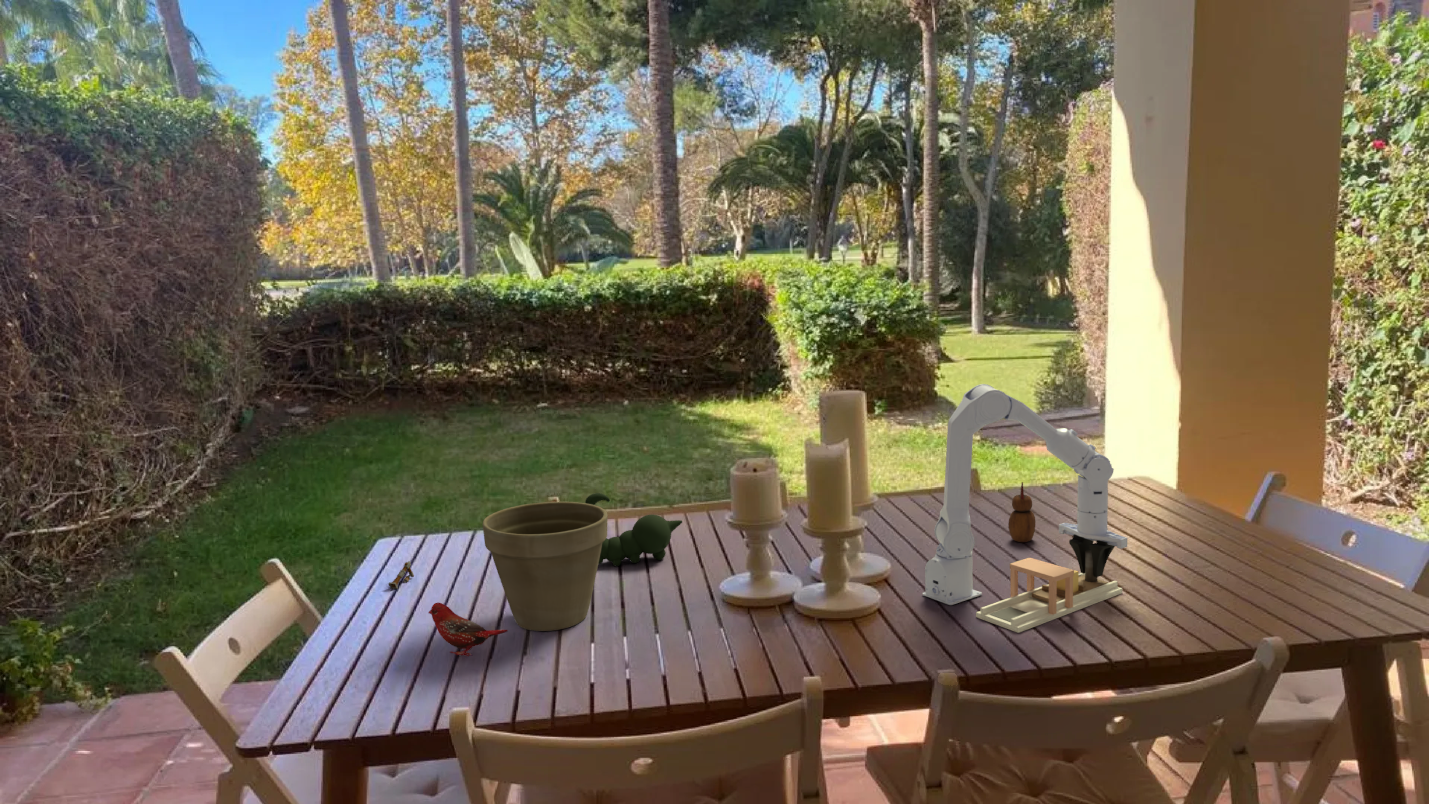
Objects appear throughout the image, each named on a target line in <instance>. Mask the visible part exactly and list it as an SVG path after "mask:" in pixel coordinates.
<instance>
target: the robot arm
mask: <svg viewBox="0 0 1429 804" xmlns="http://www.w3.org/2000/svg"><path fill="white" fill-rule="evenodd" d="M1004 419H1005V420H1006V421H1016V422H1018V423H1020V424H1021V425H1022V426H1025V428H1027V429H1028V430H1030V431H1031V432H1033V433H1034V434H1035V435H1037V436H1039V437H1040V438H1042V439H1043V440H1044V441H1045V444H1046V449H1047V452H1049V453H1050V454H1052V455H1053V456H1055V457H1056V459H1058V460H1060V461H1061V462H1063V463H1064V464H1065V465H1067V466H1068V467H1070V468H1071V469H1073V471H1074V472H1075V473H1076V474H1079V475H1077V505H1076V507H1077V509H1076V510H1077V511H1076V512H1077V514H1076V515H1077V516H1076V517H1077V519H1076V522H1077V523H1076V524H1074V523H1067V522H1063V523H1059V524H1058V534H1061V535H1065V534H1066V535H1070V536H1073V537H1072V538H1070V539H1069V541H1068V542H1069V543H1068V544H1069V545H1070V547H1071V548H1072V550H1073V552H1074V554H1075V557H1076V559H1077V563H1078V566H1079V571H1080V573H1083V574H1084V573H1085V551H1088V550H1091V553H1092V559H1093V575H1094V577H1098V578H1099V577H1103V575H1104V570H1105V567H1106V564H1107V562H1108V559H1109V557H1110V555H1111V553H1112V551H1113V550H1114V549H1115V547H1116V548H1117V549H1121V550H1122V549H1124V548H1128V537H1126V536H1122V535H1120V534H1118V533H1115V532H1113V531H1111V530H1108V515H1109V514H1108V513H1109V512H1108V510H1109V488H1108V487H1109V485H1108V484H1109V480H1110V479H1111V477H1112V476H1113V474H1114V470H1115V469H1114V468H1113V466H1112V463H1111V461H1110V460H1109V458H1108V457H1107V456H1105V455H1103V454H1101V453H1099V452H1098V451H1096V449H1097V448H1096V447H1095V446H1094V445H1093V444H1091V443H1090V444H1088V443H1086V442H1085V441H1084V440H1083V439H1081V438H1079V436H1078V435H1079V433H1078V432H1077V431H1075V430H1074V429H1073V428H1071V429H1069V428H1066V427H1065V428H1064V427H1061V428H1055V427H1053V425H1052V424H1051V423H1049V422H1048V421H1047V420H1046V419H1044V418H1043V417H1042V416H1040V415H1039V414H1037V413H1036V412H1035V411H1034V410H1032V409H1031V408H1030V407H1029V406H1028V405H1026V404H1025V403H1024V402H1023V401H1020V400H1018V399H1017V398H1015V397H1013V396H1010V395H1009V394H1007V393H1005V392H1004V391H1002V390H1000V389H996V388H995V387H993V386H991V385H990V384H986V383H981V384H977V385H975V386H973V387H972V388H971V389H969V390H968V391H966V392H965V393H964V394H963V397H962V399H961V401H960V403H959V404H958V405H957V407H956V409H955V410H954V412H952V414H951V416H950V417H949V419H948V421H947V434H946V437H947V439H946V451H945V452H946V453H945V455H946V456H945V468H944V469H945V470H944V473H945V474H944V488H943V489H944V491H943V492H944V493H943V504H942V505H943V506H942V508H941V509H940V511H939V518H938V519H937V522H936V523H935V526H934V530H933V531H934V537H935V539H937V541H938V542H939V543H938V545H937V548H936V550H935V555H934V556H933V557H932V558H931V559H929V560H928V561H927V562H926V564H925V568H924V581H925V583H924V585H925V586H924V588H925V591H924V592H921V593H922V596H924V597H927V598H930V599H932V600H935V601H938V602H940V603H943V604H945V605H949V606H953V605H956V604H958V603H962V602H964V601H968V600H971V599H974V598H976V597H979V596H980V597H981V596H982V595H983V592H982V591H978V590H975V589H974V588H973V585H974V584H973V550H974V547H975V541H976V540H975V537H974V535H973V533H972V529H971V527H972V520H971V517H970V511H969V509H970V492H971V478H972V477H971V475H972V458H973V457H972V455H973V440H974V439H973V438H974V434H975V433H977V432H978V431H979V430H981V429H982V428H984V427H985V426H987V425H990V424H993V423H996V422H999V421H1001V420H1004Z"/></svg>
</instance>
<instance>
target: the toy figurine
mask: <svg viewBox="0 0 1429 804" xmlns="http://www.w3.org/2000/svg"><path fill="white" fill-rule="evenodd" d="M601 501H606V502H608V503H609V502H611V499H610V497H609V496H607V495H606V494H604V493H601V492H596V493H592V494H590V495H588V496H587V497H586V499H585V501H584V503H586V504H592V505H596V504H598V503H599V502H601ZM681 524H683V521H682V520H681V519H680V520H677V519H675V520H666V519H665V518H664V517H662V516H660V515H658V514H646V515H644V516H641V517H640V518H638V520H636V522H635V523H634V524H633V527H632V529H628V530H625V531H623V532H622V533H620V535H619V536H613V537H610V538H607V537H606V539H605V540H604V542H602V547H601V553H600V558H599V563H598V565H601V564H602V563H603V562H604V560H607V561H609V562H611V563H612V565H613V566H614V567H620V566H621V564H622V562H623V561H624V560H626V559H629V561H630V562H631V563H632V564H637V563H639V562H640V559H641V555H642V554H647V555H651V556H653V558H654V560H657V561H659V560H660V561H661V560H663V559H664V558H665V557H666V553H667V552H666V550H665V549H666V548H667V547H668V545H670V542H671V538H672V533H673V532H674V531H675V530H676V528H678V527H680V526H681Z"/></svg>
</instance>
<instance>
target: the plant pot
mask: <svg viewBox="0 0 1429 804" xmlns="http://www.w3.org/2000/svg"><path fill="white" fill-rule="evenodd" d="M608 517H609V515H608V512H607V510H606V509H604V508H602V507H601V506H598V505H596V504H595V505H592V504H586V503H585V502H577V501H576V502H575V501H545V502H535V503H533V502H532V503H527V504H520V505H516V506H511V507H510V506H509V507H507V508H504V509H501V510H498V511H495V512H494V513H491V514H490V515H488V516H486V517H485V518H484V519H483V521H482V531H483V539H484V546H485V548H486V549H487V550H488V551H489V552H490V553H491V556H492V560H493V562H494V566H495V568H496V569H495V570H496V571H497V575H498V577H499V580H500V583H501V586H502V588H503V591H504V593H505V597H506V600H507V603H508V605H509V608H510V612H511V615H512V616H513V619H514V622H515V623H516V624H517V626H519V627H520V628H522V629H524V630H528V631H532V632H533V631H534V632H550V631H551V632H552V631H559V630H563V629H568V628H571V627H573V626H576V625H578V624H580V623H581V622H582V621H584V620H585V619H586V617H587V615H588V612H589V609H590V605H591V600H592V595H593V592H594V586H595V581H596V576H597V572H598V567H599V564H598V563H599V558H600V553H601V547H602V542H604V540H605V539H606V538H607V537H608V520H609V519H608Z"/></svg>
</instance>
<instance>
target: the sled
mask: <svg viewBox="0 0 1429 804" xmlns="http://www.w3.org/2000/svg"><path fill="white" fill-rule="evenodd" d="M1107 583H1109V582H1108V581H1105V580H1102V579H1099V577H1094V575H1093V559H1092V553H1091V550H1088V551H1085V575H1082V576H1080V577H1079V578H1078V591H1076V592H1073V596H1074V595H1077V594H1080V593H1083V592H1085V591H1088V590H1091V589H1093V588H1096V587H1099V586H1102V585H1104V584H1107ZM1041 587H1042V590H1040V591H1037V592H1034V593H1032V597H1033V598H1036V599H1039V600H1042V601H1045V602H1048V603H1049V586H1048V584H1042V585H1041ZM1064 599H1065V591H1064V590H1061V589H1057V601H1056V602H1058V601H1061V600H1064Z"/></svg>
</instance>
